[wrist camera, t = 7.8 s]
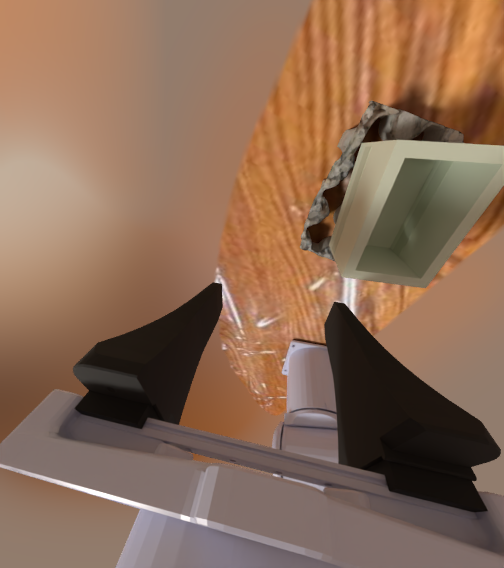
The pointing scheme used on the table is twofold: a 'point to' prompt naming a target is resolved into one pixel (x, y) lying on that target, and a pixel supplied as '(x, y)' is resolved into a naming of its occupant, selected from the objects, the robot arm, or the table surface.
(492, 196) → the box
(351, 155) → the egg carton
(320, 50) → the table surface
